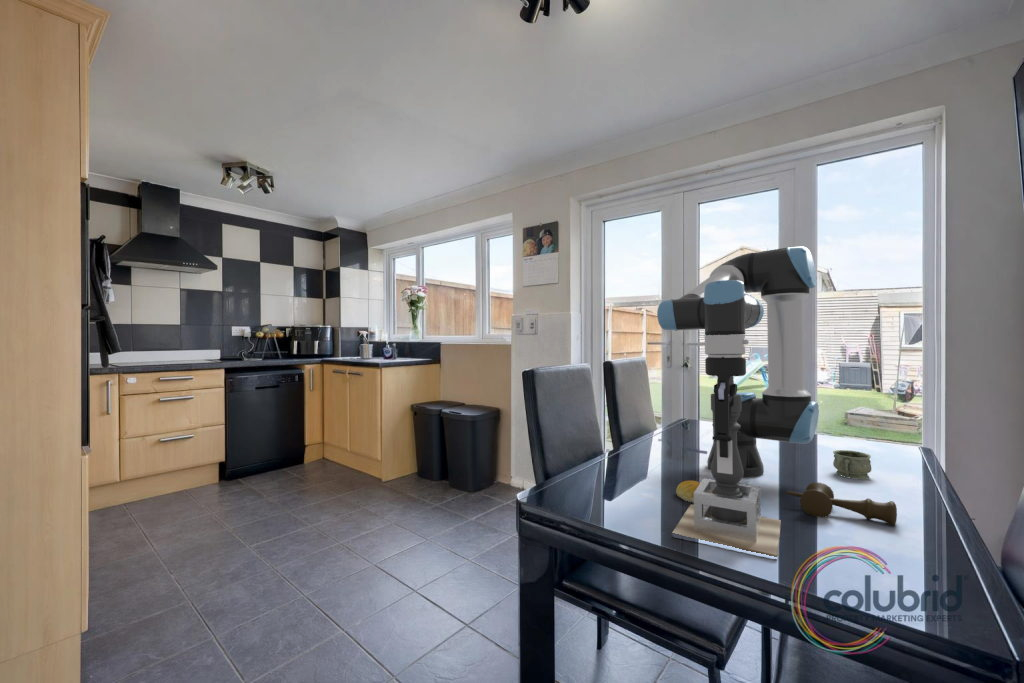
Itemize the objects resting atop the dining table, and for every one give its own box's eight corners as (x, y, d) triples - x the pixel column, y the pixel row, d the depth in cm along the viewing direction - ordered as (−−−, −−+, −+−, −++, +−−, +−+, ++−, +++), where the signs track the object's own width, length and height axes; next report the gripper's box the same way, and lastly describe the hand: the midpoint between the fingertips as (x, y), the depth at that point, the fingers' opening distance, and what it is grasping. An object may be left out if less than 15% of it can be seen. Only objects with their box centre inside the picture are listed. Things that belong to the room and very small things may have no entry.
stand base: (690, 508, 103) (690, 504, 103) (780, 524, 94) (780, 520, 94) (672, 537, 88) (672, 532, 88) (777, 560, 78) (777, 555, 78)
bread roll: (699, 491, 116) (699, 475, 116) (719, 503, 107) (719, 487, 107) (669, 492, 115) (669, 477, 115) (687, 505, 106) (687, 488, 106)
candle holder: (710, 519, 90) (708, 395, 90) (712, 509, 95) (710, 392, 95) (744, 524, 87) (742, 397, 87) (744, 513, 92) (742, 393, 92)
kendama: (897, 536, 89) (782, 510, 102) (895, 522, 96) (788, 499, 109) (898, 506, 89) (782, 484, 102) (896, 494, 96) (788, 475, 109)
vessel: (839, 468, 134) (839, 447, 134) (877, 474, 127) (876, 452, 127) (827, 476, 126) (826, 454, 126) (865, 483, 120) (865, 460, 120)
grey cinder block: (704, 512, 98) (703, 478, 99) (760, 522, 92) (760, 486, 93) (694, 530, 89) (693, 492, 89) (756, 542, 83) (755, 502, 83)
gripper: (740, 357, 81) (742, 484, 81) (749, 354, 97) (751, 460, 97) (696, 357, 85) (698, 478, 85) (712, 354, 101) (714, 456, 101)
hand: (727, 468), depth 91 cm, fingers closed on candle holder, 6 cm apart
